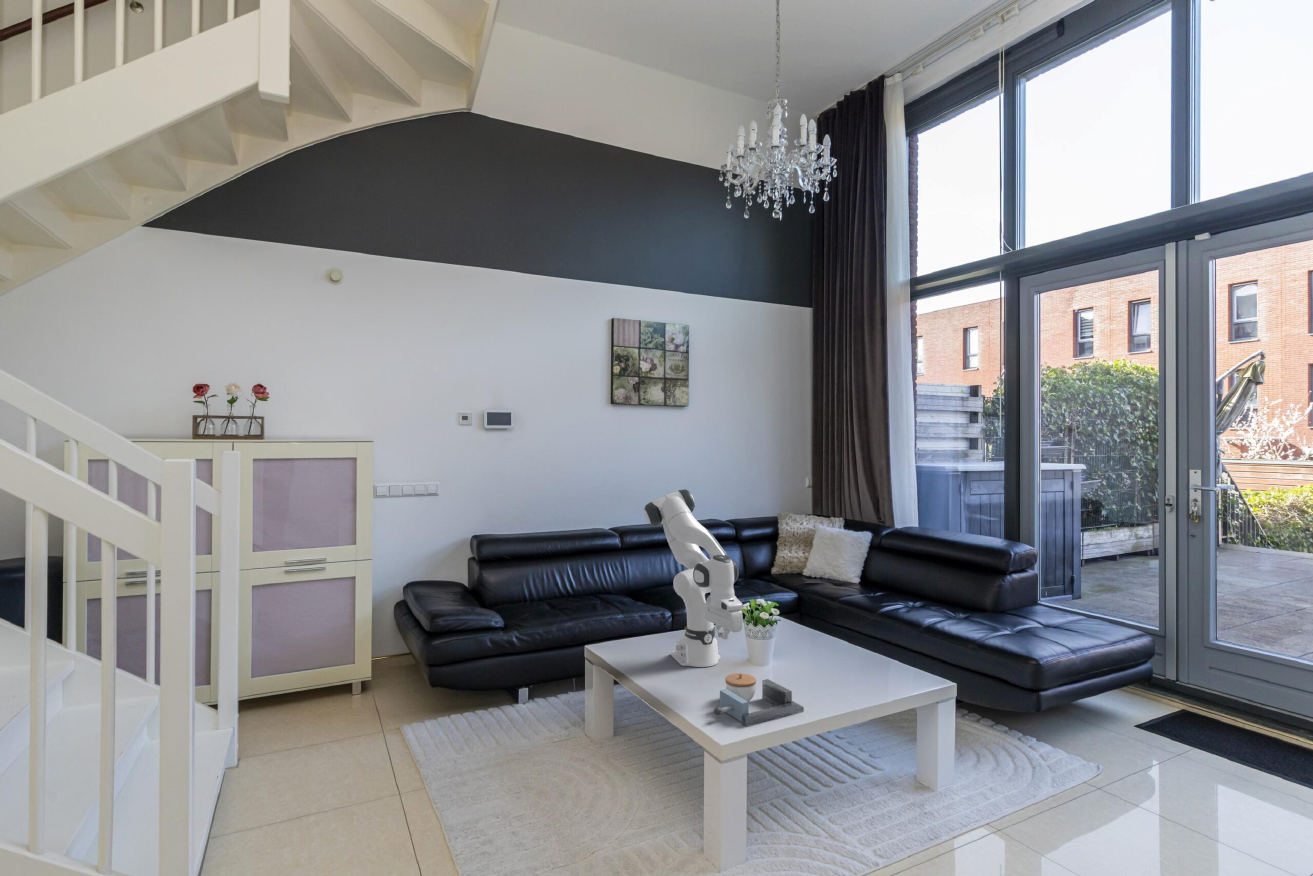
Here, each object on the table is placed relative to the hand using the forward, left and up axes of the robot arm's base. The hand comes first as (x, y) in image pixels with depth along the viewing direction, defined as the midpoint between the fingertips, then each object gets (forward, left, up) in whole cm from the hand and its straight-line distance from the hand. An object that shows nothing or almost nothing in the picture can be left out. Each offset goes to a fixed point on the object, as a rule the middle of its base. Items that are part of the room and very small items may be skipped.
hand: (722, 638), depth 241 cm
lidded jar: (+11, 0, -19) cm, 22 cm away
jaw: (+20, -13, -19) cm, 30 cm away
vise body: (+21, +1, -19) cm, 29 cm away
